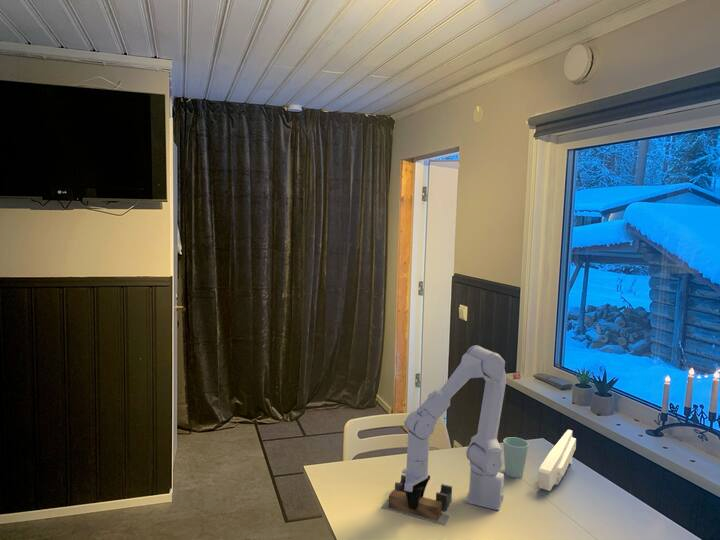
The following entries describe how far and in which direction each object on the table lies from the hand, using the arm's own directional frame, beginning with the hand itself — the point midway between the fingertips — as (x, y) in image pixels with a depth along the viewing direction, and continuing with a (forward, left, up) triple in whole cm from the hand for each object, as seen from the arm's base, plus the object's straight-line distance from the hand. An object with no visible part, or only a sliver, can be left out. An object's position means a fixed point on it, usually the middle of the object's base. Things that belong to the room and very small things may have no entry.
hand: (415, 505), depth 146 cm
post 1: (+6, -7, -2) cm, 9 cm away
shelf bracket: (-34, -40, -2) cm, 52 cm away
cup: (-21, -36, -2) cm, 42 cm away
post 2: (-6, -7, -2) cm, 9 cm away
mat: (0, 0, -2) cm, 2 cm away
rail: (0, 0, -2) cm, 2 cm away
